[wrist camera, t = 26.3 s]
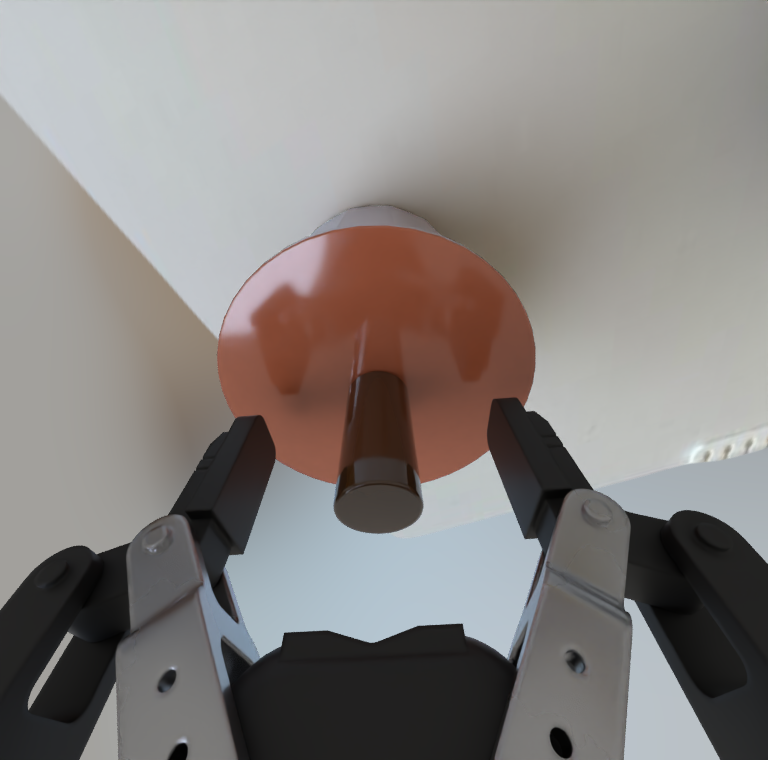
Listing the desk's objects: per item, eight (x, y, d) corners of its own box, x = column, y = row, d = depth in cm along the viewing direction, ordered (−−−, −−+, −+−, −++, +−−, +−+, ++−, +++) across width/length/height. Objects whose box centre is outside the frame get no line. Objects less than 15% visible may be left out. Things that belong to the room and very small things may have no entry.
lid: (277, 478, 17) (234, 611, 12) (170, 237, 10) (-44, 313, 5) (501, 463, 16) (556, 594, 11) (558, 202, 9) (761, 245, 4)
